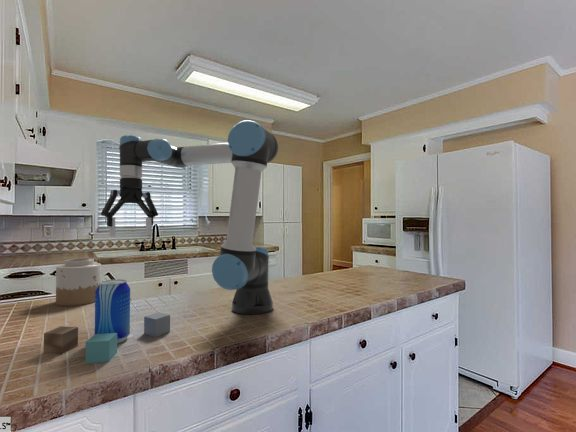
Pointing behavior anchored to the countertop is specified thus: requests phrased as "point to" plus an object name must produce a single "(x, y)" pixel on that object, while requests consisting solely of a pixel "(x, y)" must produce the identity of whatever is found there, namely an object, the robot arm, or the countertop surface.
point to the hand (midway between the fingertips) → (131, 235)
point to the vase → (77, 281)
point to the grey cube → (156, 324)
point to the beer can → (113, 308)
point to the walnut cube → (60, 340)
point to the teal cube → (101, 348)
